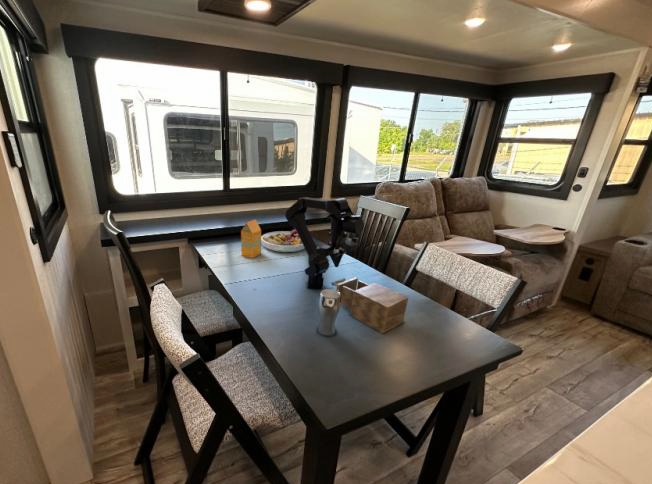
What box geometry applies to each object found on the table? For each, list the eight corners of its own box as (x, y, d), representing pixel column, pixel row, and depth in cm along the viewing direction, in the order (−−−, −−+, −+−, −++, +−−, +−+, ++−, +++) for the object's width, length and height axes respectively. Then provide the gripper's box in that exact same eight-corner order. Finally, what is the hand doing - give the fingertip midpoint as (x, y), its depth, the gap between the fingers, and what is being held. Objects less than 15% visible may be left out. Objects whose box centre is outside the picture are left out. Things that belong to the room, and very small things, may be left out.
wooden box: (350, 315, 120) (353, 290, 116) (370, 306, 127) (374, 282, 123) (382, 333, 109) (387, 307, 105) (403, 322, 116) (408, 297, 112)
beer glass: (337, 327, 112) (342, 290, 106) (334, 338, 106) (339, 300, 100) (318, 323, 114) (322, 287, 108) (314, 334, 108) (318, 296, 102)
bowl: (294, 257, 175) (295, 244, 172) (251, 247, 190) (251, 235, 187) (316, 243, 199) (317, 232, 196) (276, 235, 213) (277, 224, 210)
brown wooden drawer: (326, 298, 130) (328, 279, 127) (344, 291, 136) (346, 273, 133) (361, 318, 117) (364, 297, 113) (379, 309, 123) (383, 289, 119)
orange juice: (261, 253, 180) (261, 220, 172) (252, 258, 173) (252, 223, 166) (250, 251, 184) (250, 217, 176) (241, 255, 177) (240, 221, 169)
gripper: (336, 237, 114) (335, 277, 119) (369, 229, 124) (366, 266, 129) (315, 233, 122) (315, 270, 128) (347, 226, 133) (345, 260, 138)
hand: (336, 267), depth 130 cm, fingers closed
